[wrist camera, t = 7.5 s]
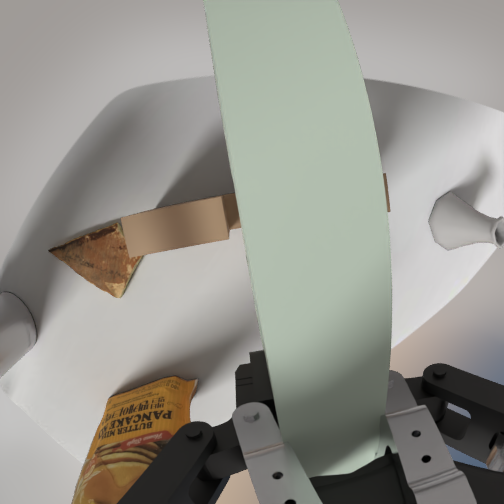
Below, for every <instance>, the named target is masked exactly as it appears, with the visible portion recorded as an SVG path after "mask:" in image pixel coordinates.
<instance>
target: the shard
mask: <svg viewBox="0 0 504 504" xmlns="http://www.w3.org/2000/svg"><path fill="white" fill-rule="evenodd" d="M48 251H49V252H50V253H52V254H53V255H55V256H56V257H57V258H58V259H60V260H61V261H63V262H65V263H66V264H67V265H68V266H70V267H71V268H72V269H73V270H74V271H75V272H77V273H78V274H79V275H81V276H82V277H84V278H85V279H86V280H87V281H89V282H90V283H92V284H94V285H95V286H96V287H98V288H100V289H101V290H103V291H105V292H108V293H109V294H111V295H112V296H114V297H116V298H121V297H122V295H123V294H124V291H125V289H126V287H127V284H128V282H129V280H130V278H131V276H132V274H133V272H134V270H135V269H136V267H137V266H138V264H139V261H140V260H141V259H142V257H143V255H141V256H136V257H131V258H129V254H128V250H127V245H126V241H125V237H124V232H123V230H122V228H121V226H120V224H119V223H115V224H113V225H111V226H109V227H105V228H102V229H100V230H97V231H95V232H92V233H90V234H87V235H84V236H80V237H79V238H76V239H73V240H71V241H69V242H67V243H65V244H64V245H61V246H58V247H54V248H52V249H50V250H48Z"/></svg>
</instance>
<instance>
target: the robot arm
mask: <svg viewBox="0 0 504 504" xmlns="http://www.w3.org/2000/svg"><path fill="white" fill-rule="evenodd" d="M35 342H36V328H35V324H34V321H33V318H32V316H31V314H30V312H29V310H28V309H27V307H26V306H25V304H24V303H23V302H22V301H21V300H20V299H19V298H18V297H16V296H15V295H13V294H11V293H8V292H2V293H0V378H1V377H2V376H3V375H4V374H5V373H6V372H7V371H8V370H9V369H10V368H11V367H13V366H14V365H15V364H16V363H17V362H18V361H19V360H20V359H21V358H22V357H23V356H24V355H25V354H26V353H27V352H29V351H30V350H31V349H32V348H33V346H34V345H35ZM249 354H250V363H248V364H242V365H239V367H238V368H237V370H236V372H235V380H236V410H235V411H234V412H233V414H232V418H231V419H230V420H229V421H227V422H225V423H223V424H221V425H218V426H215V427H211V426H210V425H209V424H208V423H205V422H200V421H196V422H190V423H187V424H185V425H183V426H182V427H181V428H179V429H178V431H177V432H176V433H175V434H174V436H173V437H172V438H171V439H170V441H169V442H168V443H167V444H166V446H165V447H164V448H163V449H162V451H161V452H160V453H159V454H158V455H157V457H156V458H155V459H154V460H153V462H152V463H151V464H150V465H149V466H148V468H147V469H146V470H145V471H144V472H143V474H142V475H141V476H140V477H139V478H138V479H137V481H136V482H135V483H134V484H133V485H132V486H131V488H130V489H129V490H128V491H127V492H126V493H125V495H124V496H123V497H122V498H121V499H120V500H119V501H118V503H117V504H215V503H216V501H217V500H218V498H219V496H220V494H221V493H222V491H223V489H224V487H225V486H226V484H227V482H228V480H229V478H230V475H232V474H235V473H238V472H241V471H243V470H246V469H248V471H249V474H250V477H251V480H252V483H253V486H254V489H255V492H256V495H257V498H258V500H259V503H260V504H504V385H501V384H498V383H495V382H492V381H490V380H487V379H484V378H481V377H479V376H476V375H473V374H471V373H468V372H465V371H462V370H460V369H457V368H455V367H452V366H450V365H447V364H442V363H437V364H432V365H430V366H428V367H427V368H426V369H425V370H424V372H423V376H422V377H415V378H403V376H402V375H401V374H400V373H398V372H396V371H392V370H389V380H388V391H387V400H386V408H385V414H384V415H381V416H380V424H379V428H380V439H379V445H378V451H377V453H375V456H374V460H373V461H371V462H370V463H368V464H366V465H364V466H363V467H361V468H359V469H357V470H356V471H354V472H352V473H348V474H338V475H323V476H315V477H311V478H308V477H307V475H306V473H305V471H304V469H303V467H302V465H301V464H300V462H299V460H298V458H297V456H296V454H295V452H294V450H293V448H292V446H291V445H290V443H289V442H288V441H287V442H283V441H282V436H281V432H280V429H279V424H278V419H277V413H276V408H275V402H274V397H273V392H272V387H271V382H270V377H269V372H268V367H267V362H266V357H265V352H264V350H261V351H255V352H249ZM448 402H449V403H452V404H454V405H456V406H458V407H460V408H463V409H465V410H467V411H468V412H469V413H470V415H471V419H470V418H468V417H466V416H463V415H461V414H459V413H457V412H454V411H452V410H450V409H448V408H447V406H448ZM445 444H447V445H448V446H450V447H452V448H454V449H456V450H458V451H461V452H462V453H464V454H466V455H468V456H470V457H472V458H475V459H477V460H479V461H481V462H483V463H485V464H486V465H487V468H488V469H485V468H480V467H476V466H472V465H468V464H464V463H461V462H457V461H454V460H452V458H451V455H450V453H449V451H448V449H447V447H446V445H445Z"/></svg>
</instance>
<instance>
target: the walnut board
mask: <svg viewBox="0 0 504 504" xmlns="http://www.w3.org/2000/svg"><path fill="white" fill-rule="evenodd" d="M383 179H384V187H385V195H386V203H387V212H390V203H389V194H388V186H387V178H386V173H383ZM121 222H122V227H123V232H124V237H125V241H126V245H127V250H128V254H129V258H131V257H136V256H141V255H147V254H152V253H157V252H162V251H167V250H173V249H178V248H183V247H189V246H194V245H199V244H205V243H210V242H216V241H221V240H227V239H229V231H230V230H231V229H236V228H241V222H240V217H239V211H238V206H237V200H236V194H235V193H231V194H225V195H220V196H215V197H209V198H204V199H199V200H194V201H189V202H184V203H179V204H174V205H170V206H165V207H160V208H156V209H152V210H148V211H144V212H140V213H137V214H133V215H129V216H126V217H122V218H121Z"/></svg>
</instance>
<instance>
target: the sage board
mask: <svg viewBox="0 0 504 504" xmlns="http://www.w3.org/2000/svg"><path fill="white" fill-rule="evenodd" d="M203 1H204V7H205V15H206V21H207V28H208V34H209V41H210V47H211V54H212V61H213V67H214V74H215V80H216V87H217V93H218V99H219V105H220V111H221V117H222V123H223V128H224V134H225V140H226V146H227V151H228V157H229V163H230V169H231V174H232V178H233V183H234V189H235V194H236V200H237V206H238V211H239V217H240V222H241V228H242V234H243V239H244V245H245V250H246V258H247V264H248V269H249V275H250V280H251V286H252V291H253V297H254V302H255V308H256V313H257V319H258V324H259V330H260V335H261V340H262V345H263V350H264V352H265V357H266V362H267V367H268V372H269V377H270V382H271V387H272V392H273V397H274V402H275V408H276V413H277V419H278V424H279V429H280V432H281V436H282V441H283V442H287V441H288V442H289V443H290V445H291V446H292V448H293V450H294V452H295V454H296V456H297V458H298V460H299V462H300V464H301V465H302V467H303V469H304V471H305V473H306V475H307V477H308V478H311V477H315V476H323V475H338V474H348V473H352V472H354V471H356V470H357V469H359V468H361V467H363V466H364V465H366V464H368V463H370V462H371V461H373V460H374V456H375V453H377V451H378V445H379V439H380V428H379V424H380V416H381V415H384V414H385V408H386V400H387V391H388V380H389V368H390V354H391V332H392V273H391V251H390V236H389V223H388V213H387V203H386V195H385V187H384V179H383V172H382V165H381V159H380V153H379V147H378V142H377V136H376V131H375V126H374V121H373V116H372V112H371V107H370V103H369V99H368V95H367V91H366V87H365V83H364V79H363V75H362V71H361V68H360V64H359V61H358V57H357V55H356V51H355V48H354V44H353V42H352V38H351V35H350V32H349V29H348V26H347V23H346V21H345V18H344V15H343V12H342V10H341V7H340V4H339V2H338V0H203Z"/></svg>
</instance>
